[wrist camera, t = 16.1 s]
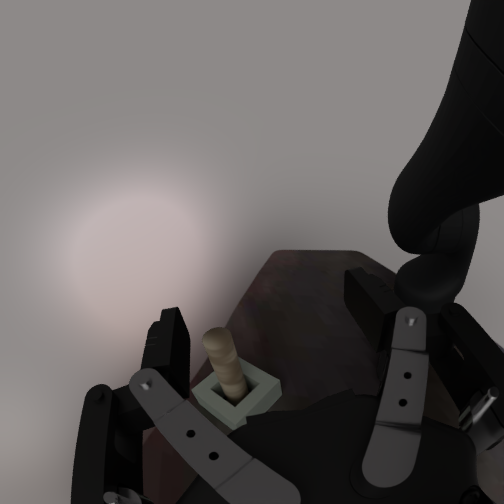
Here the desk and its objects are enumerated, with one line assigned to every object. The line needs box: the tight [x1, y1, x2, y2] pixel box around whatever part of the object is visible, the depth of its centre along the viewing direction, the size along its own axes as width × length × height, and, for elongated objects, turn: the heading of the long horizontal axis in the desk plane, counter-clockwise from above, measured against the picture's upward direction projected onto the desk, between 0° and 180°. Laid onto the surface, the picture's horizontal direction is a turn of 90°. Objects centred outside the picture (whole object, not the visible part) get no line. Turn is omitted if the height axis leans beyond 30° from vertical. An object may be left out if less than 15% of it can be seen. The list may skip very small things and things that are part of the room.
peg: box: [202, 327, 249, 407], centre depth 37 cm, size 4×4×16 cm
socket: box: [192, 357, 282, 430], centre depth 40 cm, size 10×10×4 cm
